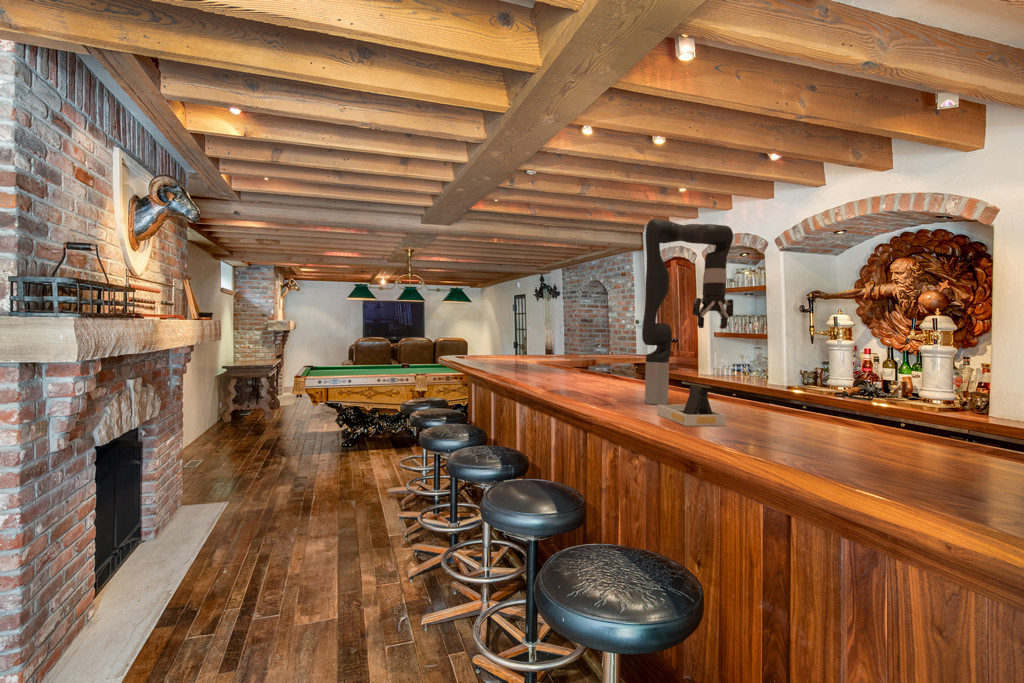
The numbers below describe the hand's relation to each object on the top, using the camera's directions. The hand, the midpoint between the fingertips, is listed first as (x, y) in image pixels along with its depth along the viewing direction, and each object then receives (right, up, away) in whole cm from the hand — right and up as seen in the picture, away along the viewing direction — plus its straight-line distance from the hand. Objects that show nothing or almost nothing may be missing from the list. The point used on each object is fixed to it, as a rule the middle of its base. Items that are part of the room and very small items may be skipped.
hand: (712, 328), depth 172 cm
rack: (-11, -31, -7) cm, 34 cm away
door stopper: (-10, -32, -12) cm, 35 cm away
